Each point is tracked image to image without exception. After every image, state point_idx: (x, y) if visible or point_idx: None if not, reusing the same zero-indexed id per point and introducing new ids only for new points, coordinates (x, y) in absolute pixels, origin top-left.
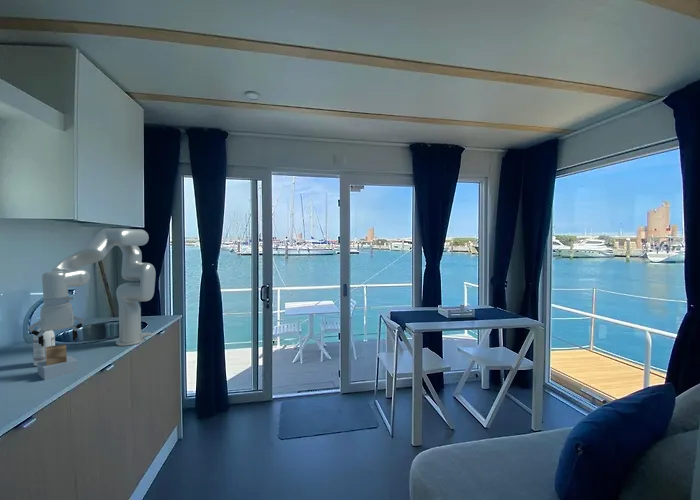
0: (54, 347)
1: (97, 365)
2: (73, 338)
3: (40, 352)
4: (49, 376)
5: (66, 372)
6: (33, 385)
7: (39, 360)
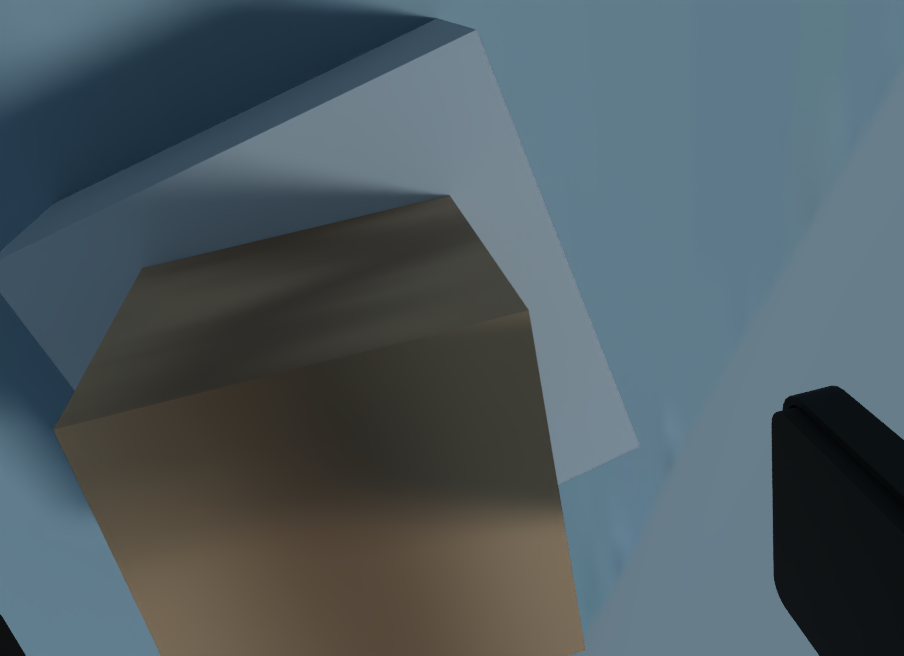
0: (318, 568)
1: (798, 216)
2: (824, 650)
3: None
4: None
5: None
6: None
7: None
